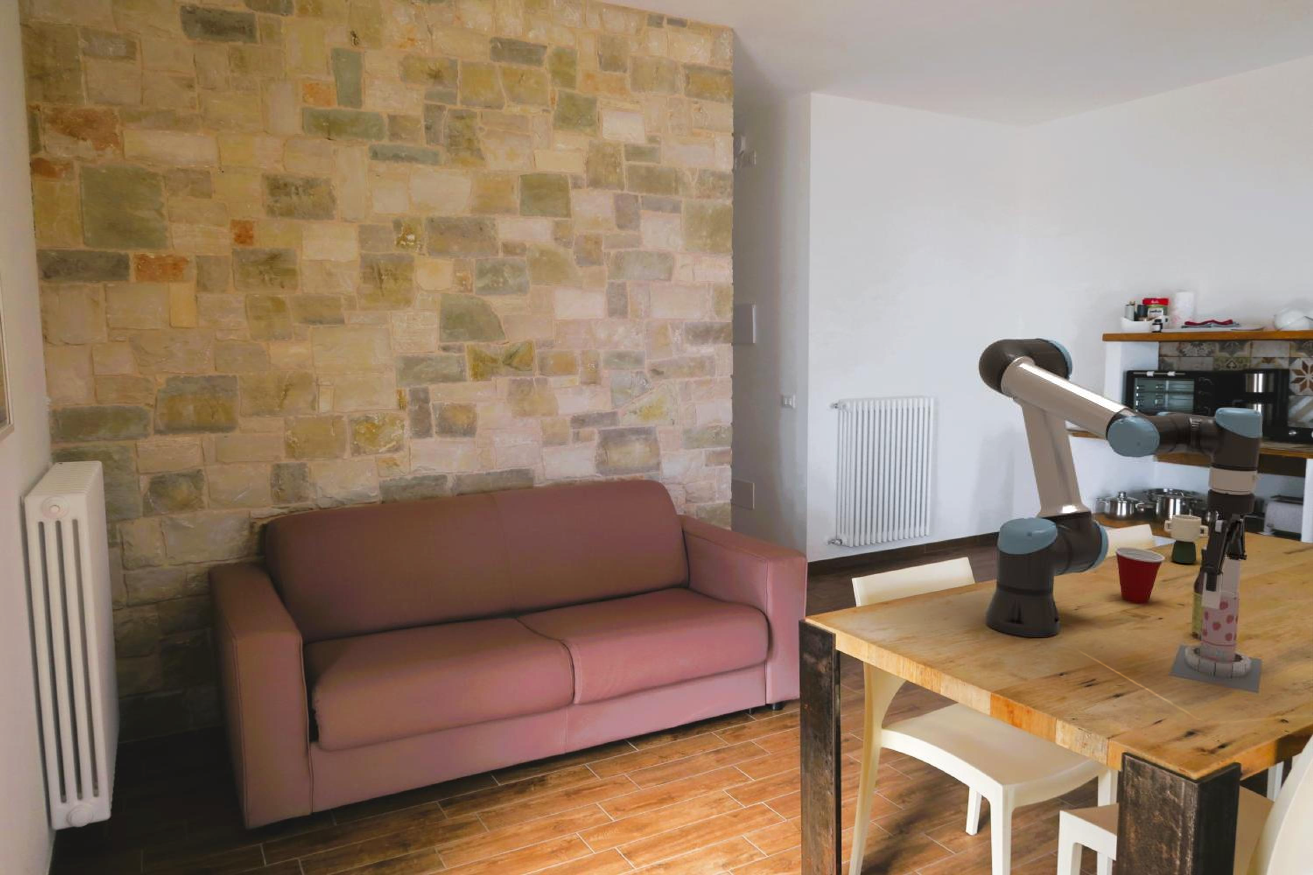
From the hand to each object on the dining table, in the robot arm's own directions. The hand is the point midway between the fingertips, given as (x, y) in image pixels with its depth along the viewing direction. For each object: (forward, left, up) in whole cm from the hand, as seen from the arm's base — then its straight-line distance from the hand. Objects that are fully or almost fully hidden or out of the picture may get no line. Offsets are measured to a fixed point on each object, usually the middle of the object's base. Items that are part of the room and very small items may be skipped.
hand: (1220, 599), depth 171 cm
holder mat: (0, 0, -14) cm, 14 cm away
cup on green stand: (+52, +71, -14) cm, 89 cm away
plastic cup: (+15, +42, -14) cm, 47 cm away
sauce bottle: (+11, +15, -14) cm, 23 cm away
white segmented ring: (0, 0, -13) cm, 13 cm away
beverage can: (0, 0, -14) cm, 14 cm away
